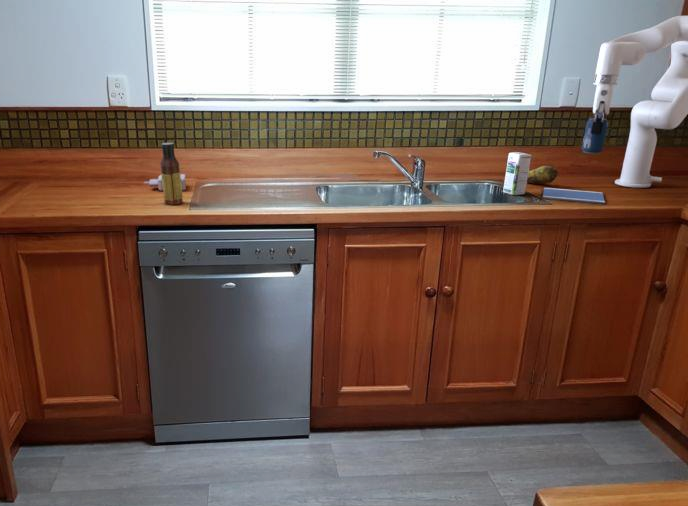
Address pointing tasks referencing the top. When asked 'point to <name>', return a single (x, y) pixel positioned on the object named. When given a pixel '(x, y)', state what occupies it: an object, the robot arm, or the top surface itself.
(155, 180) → the charger
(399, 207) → the top surface
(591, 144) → the soda can
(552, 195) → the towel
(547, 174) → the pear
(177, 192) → the sauce bottle
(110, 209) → the top surface
